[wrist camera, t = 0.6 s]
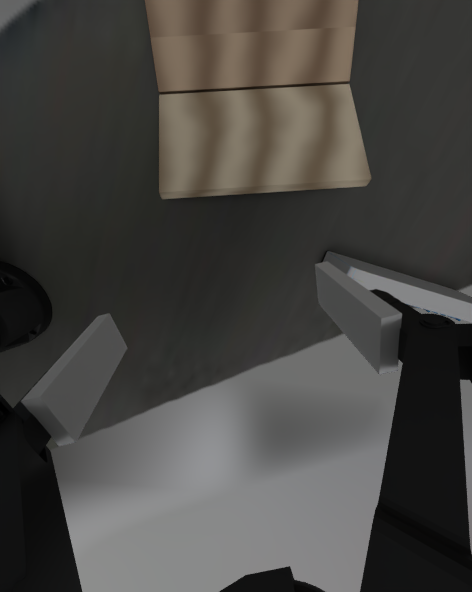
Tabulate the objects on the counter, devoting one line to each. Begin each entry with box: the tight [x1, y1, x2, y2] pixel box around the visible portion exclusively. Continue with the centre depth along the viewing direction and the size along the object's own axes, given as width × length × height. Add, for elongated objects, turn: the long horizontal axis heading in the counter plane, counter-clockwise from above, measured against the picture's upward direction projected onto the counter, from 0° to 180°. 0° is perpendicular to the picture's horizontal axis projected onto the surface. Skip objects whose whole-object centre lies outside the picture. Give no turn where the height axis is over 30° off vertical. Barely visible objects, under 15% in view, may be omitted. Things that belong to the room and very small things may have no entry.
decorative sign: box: [323, 251, 472, 323], centre depth 40 cm, size 32×4×10 cm, turn 73°
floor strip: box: [145, 0, 358, 95], centre depth 29 cm, size 24×10×1 cm, turn 93°
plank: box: [159, 84, 371, 199], centre depth 30 cm, size 24×14×1 cm
